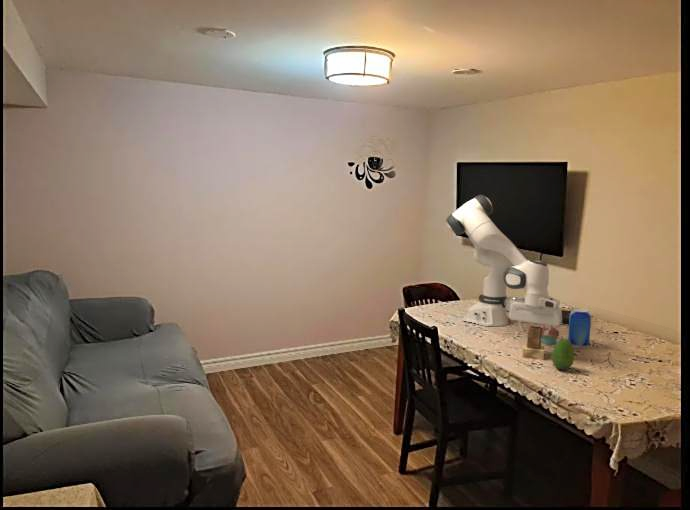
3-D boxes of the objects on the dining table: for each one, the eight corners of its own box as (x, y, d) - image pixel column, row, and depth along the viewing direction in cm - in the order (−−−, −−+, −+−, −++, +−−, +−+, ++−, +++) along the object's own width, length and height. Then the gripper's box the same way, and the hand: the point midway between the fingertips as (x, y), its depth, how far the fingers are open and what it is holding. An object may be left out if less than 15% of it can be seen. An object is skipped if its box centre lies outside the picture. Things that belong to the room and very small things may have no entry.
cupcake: (549, 346, 227) (550, 319, 225) (533, 341, 234) (535, 315, 233) (562, 343, 231) (564, 317, 229) (547, 338, 238) (548, 312, 237)
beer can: (587, 344, 230) (590, 308, 228) (590, 349, 222) (592, 312, 220) (567, 342, 233) (569, 306, 231) (568, 347, 225) (570, 311, 223)
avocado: (577, 371, 197) (579, 340, 195) (560, 373, 195) (562, 342, 193) (563, 364, 204) (565, 334, 203) (546, 366, 202) (547, 336, 201)
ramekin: (532, 314, 283) (533, 301, 282) (507, 314, 283) (508, 301, 282) (524, 308, 296) (525, 296, 295) (501, 308, 297) (501, 296, 296)
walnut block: (526, 347, 214) (528, 328, 212) (529, 344, 217) (531, 325, 216) (538, 349, 211) (540, 330, 210) (540, 346, 215) (542, 327, 214)
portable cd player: (586, 328, 257) (587, 320, 257) (549, 323, 266) (550, 315, 265) (590, 320, 271) (590, 313, 271) (554, 316, 280) (555, 309, 279)
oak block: (522, 358, 213) (522, 348, 212) (523, 352, 220) (523, 343, 219) (543, 360, 210) (544, 351, 209) (543, 354, 217) (544, 345, 217)
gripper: (507, 298, 215) (506, 331, 217) (560, 304, 204) (558, 339, 205) (512, 295, 220) (510, 327, 222) (564, 301, 209) (562, 335, 211)
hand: (534, 333), depth 214 cm, fingers open, 8 cm apart
